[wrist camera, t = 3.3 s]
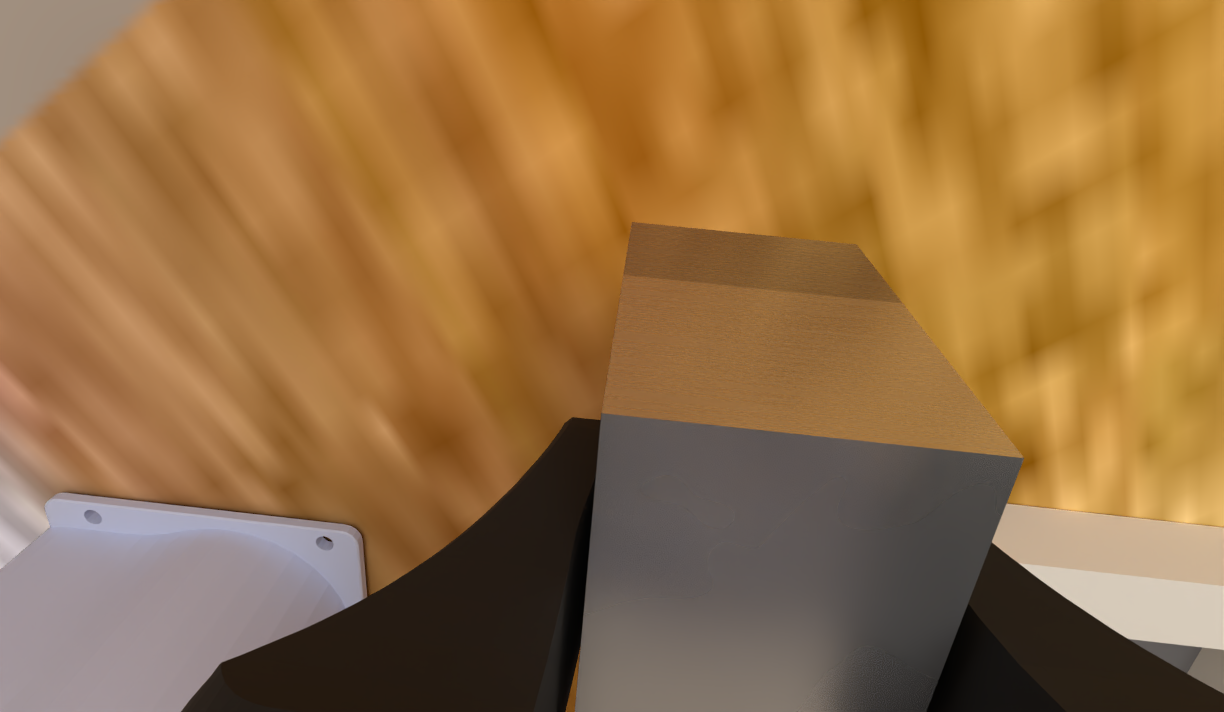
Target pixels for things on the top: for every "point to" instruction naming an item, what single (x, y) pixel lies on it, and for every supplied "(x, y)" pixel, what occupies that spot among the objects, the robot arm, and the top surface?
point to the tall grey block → (779, 486)
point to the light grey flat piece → (1131, 578)
